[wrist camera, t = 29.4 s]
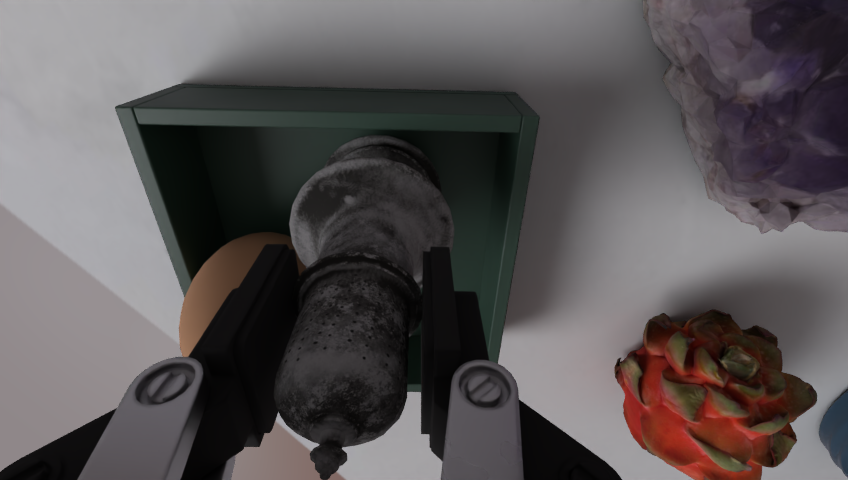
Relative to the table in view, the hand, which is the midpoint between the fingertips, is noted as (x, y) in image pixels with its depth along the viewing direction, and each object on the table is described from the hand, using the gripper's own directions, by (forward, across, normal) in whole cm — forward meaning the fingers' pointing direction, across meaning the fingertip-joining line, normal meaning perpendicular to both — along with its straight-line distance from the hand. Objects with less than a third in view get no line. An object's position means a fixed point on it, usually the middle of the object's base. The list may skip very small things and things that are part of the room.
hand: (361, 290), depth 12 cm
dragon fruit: (+9, -18, +11) cm, 23 cm away
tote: (+8, +1, +3) cm, 9 cm away
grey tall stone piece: (+7, 0, 0) cm, 7 cm away
